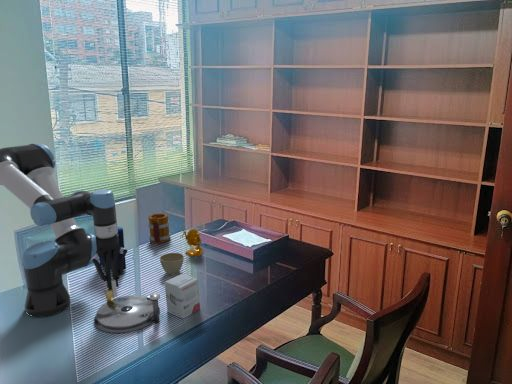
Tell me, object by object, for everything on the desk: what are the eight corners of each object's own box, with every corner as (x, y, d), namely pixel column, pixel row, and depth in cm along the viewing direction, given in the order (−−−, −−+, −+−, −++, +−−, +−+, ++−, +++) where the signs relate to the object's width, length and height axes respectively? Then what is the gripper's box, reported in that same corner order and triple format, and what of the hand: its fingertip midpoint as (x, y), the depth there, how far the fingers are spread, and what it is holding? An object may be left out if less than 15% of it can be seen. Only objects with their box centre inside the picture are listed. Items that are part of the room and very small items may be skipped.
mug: (172, 235, 232) (170, 208, 228) (168, 247, 216) (165, 217, 212) (151, 236, 232) (149, 209, 228) (145, 248, 216) (143, 218, 212)
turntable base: (93, 339, 140) (90, 311, 138) (94, 306, 161) (91, 281, 158) (163, 325, 147) (161, 299, 145) (156, 296, 167) (154, 272, 165)
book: (97, 266, 195) (92, 223, 190) (108, 262, 199) (103, 220, 194) (118, 274, 187) (113, 229, 182) (128, 270, 191) (124, 226, 186)
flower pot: (179, 278, 182) (178, 262, 180) (157, 276, 184) (155, 260, 182) (188, 268, 191) (187, 253, 189) (166, 267, 193) (165, 251, 191)
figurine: (180, 256, 205) (179, 231, 202) (193, 248, 214) (192, 224, 211) (196, 258, 201) (195, 233, 198) (208, 250, 211) (207, 226, 208)
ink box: (184, 302, 163) (182, 272, 160) (200, 309, 157) (199, 278, 154) (166, 311, 156) (163, 280, 153) (182, 319, 151) (180, 287, 148)
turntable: (125, 335, 140) (123, 316, 138) (84, 319, 151) (82, 301, 149) (168, 308, 157) (167, 290, 155) (129, 294, 167) (127, 278, 165)
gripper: (92, 242, 145) (101, 306, 152) (129, 232, 154) (135, 293, 160) (84, 236, 151) (92, 298, 157) (119, 227, 159) (125, 286, 166)
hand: (114, 295), depth 159 cm, fingers closed
